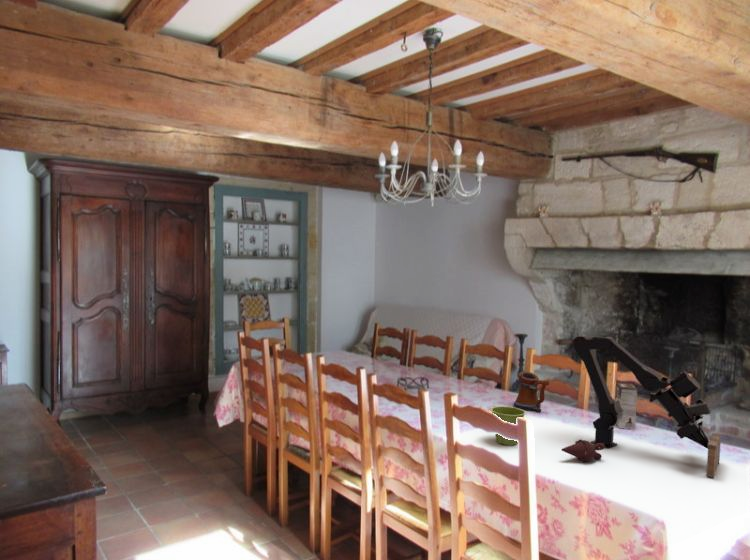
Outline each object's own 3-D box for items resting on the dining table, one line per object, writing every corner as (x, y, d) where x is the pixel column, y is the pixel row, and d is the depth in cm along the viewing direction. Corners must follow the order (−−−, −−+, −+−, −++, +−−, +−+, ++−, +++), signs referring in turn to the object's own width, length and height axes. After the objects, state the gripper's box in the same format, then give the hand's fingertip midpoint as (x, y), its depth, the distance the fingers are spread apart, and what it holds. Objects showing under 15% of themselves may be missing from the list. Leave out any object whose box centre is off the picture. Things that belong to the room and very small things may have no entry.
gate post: (717, 464, 181) (719, 435, 180) (709, 462, 183) (711, 433, 182) (720, 463, 182) (722, 434, 182) (712, 461, 184) (714, 432, 184)
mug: (557, 414, 234) (559, 378, 233) (535, 416, 229) (537, 380, 228) (529, 403, 250) (530, 369, 250) (507, 405, 246) (509, 371, 245)
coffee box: (613, 421, 226) (615, 382, 225) (630, 423, 224) (632, 383, 224) (618, 428, 217) (620, 387, 216) (636, 430, 215) (638, 388, 215)
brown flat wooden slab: (710, 461, 182) (712, 433, 181) (718, 463, 181) (720, 434, 180) (705, 475, 170) (707, 444, 170) (714, 477, 169) (716, 446, 168)
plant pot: (531, 444, 195) (533, 412, 194) (507, 450, 188) (508, 417, 188) (506, 434, 204) (507, 404, 204) (482, 439, 198) (483, 408, 198)
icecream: (570, 446, 175) (612, 448, 178) (558, 433, 181) (599, 435, 185) (564, 465, 176) (606, 467, 180) (553, 452, 183) (593, 454, 187)
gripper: (692, 396, 172) (731, 440, 166) (697, 387, 188) (734, 427, 182) (661, 416, 177) (698, 460, 171) (669, 405, 192) (703, 445, 187)
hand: (709, 447), depth 178 cm, fingers closed, pressing on brown flat wooden slab
